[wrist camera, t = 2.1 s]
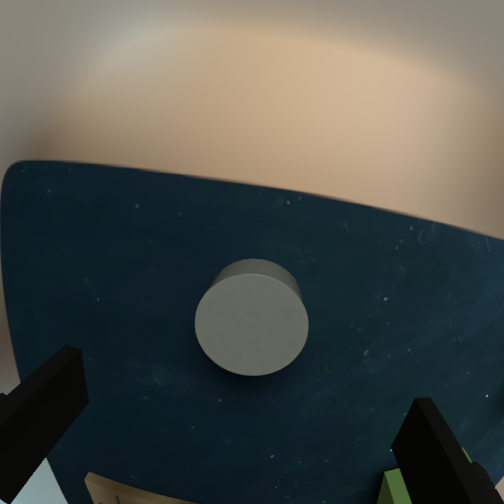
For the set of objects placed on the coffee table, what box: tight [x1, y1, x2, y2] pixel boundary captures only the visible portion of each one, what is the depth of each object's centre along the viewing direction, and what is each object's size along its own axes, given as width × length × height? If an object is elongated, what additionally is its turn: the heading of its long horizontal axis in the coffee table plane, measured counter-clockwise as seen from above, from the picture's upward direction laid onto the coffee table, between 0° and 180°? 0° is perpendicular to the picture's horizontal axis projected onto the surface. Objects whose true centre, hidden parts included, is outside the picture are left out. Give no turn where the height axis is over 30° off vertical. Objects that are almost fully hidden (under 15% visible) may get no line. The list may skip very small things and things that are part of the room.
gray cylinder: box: [195, 259, 308, 376], centre depth 19 cm, size 6×6×4 cm
